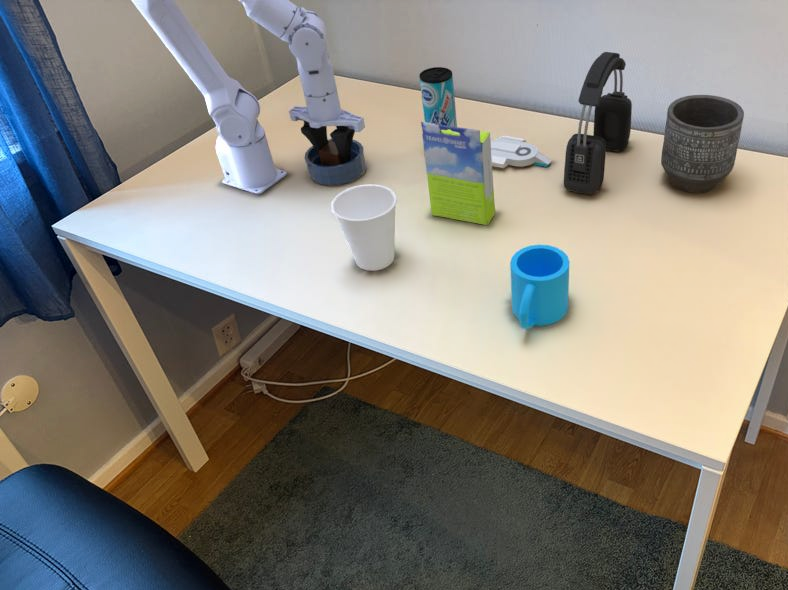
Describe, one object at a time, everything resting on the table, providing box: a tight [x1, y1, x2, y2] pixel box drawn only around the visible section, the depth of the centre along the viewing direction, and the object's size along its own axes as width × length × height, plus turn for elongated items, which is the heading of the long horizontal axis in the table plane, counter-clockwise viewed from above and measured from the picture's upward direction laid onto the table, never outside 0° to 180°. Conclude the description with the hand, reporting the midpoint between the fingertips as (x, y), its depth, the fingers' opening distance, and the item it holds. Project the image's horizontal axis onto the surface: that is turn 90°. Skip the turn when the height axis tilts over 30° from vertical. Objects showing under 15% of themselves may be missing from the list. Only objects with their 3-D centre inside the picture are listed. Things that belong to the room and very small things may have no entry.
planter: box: [660, 94, 745, 194], centre depth 124 cm, size 12×12×13 cm
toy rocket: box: [490, 135, 552, 169], centre depth 136 cm, size 16×10×2 cm, turn 63°
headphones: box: [563, 51, 633, 196], centre depth 126 cm, size 22×6×20 cm, turn 155°
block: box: [318, 141, 342, 166], centre depth 136 cm, size 4×4×4 cm
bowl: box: [304, 138, 367, 187], centre depth 136 cm, size 11×11×4 cm
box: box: [420, 121, 496, 226], centre depth 119 cm, size 10×4×17 cm, turn 68°
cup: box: [330, 183, 398, 272], centre depth 113 cm, size 10×10×11 cm
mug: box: [509, 244, 570, 330], centre depth 103 cm, size 12×8×8 cm
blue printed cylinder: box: [418, 66, 458, 127], centre depth 135 cm, size 6×6×15 cm
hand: (335, 160), depth 136 cm, fingers closed on block, 4 cm apart
